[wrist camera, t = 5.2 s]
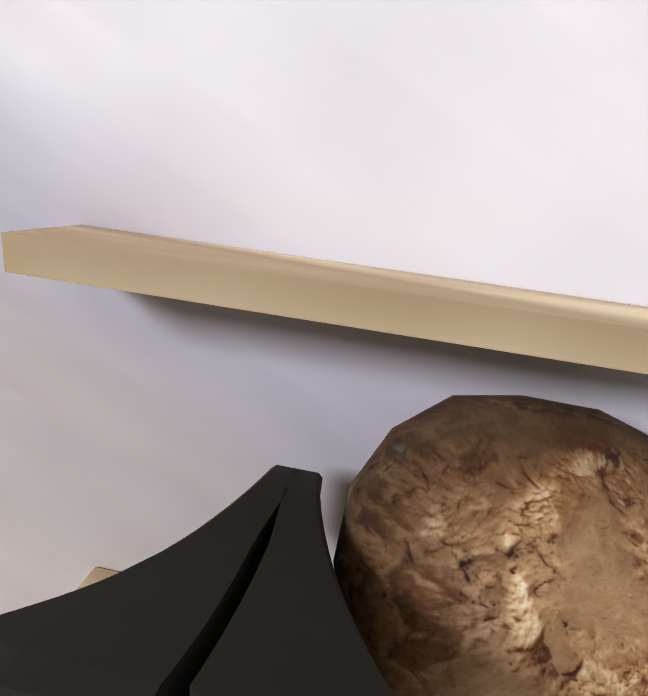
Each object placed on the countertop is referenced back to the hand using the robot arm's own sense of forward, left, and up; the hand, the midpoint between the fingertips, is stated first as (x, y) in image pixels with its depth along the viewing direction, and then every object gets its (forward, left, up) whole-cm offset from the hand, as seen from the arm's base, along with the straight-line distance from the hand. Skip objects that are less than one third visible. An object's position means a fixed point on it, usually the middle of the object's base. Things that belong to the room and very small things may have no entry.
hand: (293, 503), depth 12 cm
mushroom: (+1, -5, -2) cm, 5 cm away
